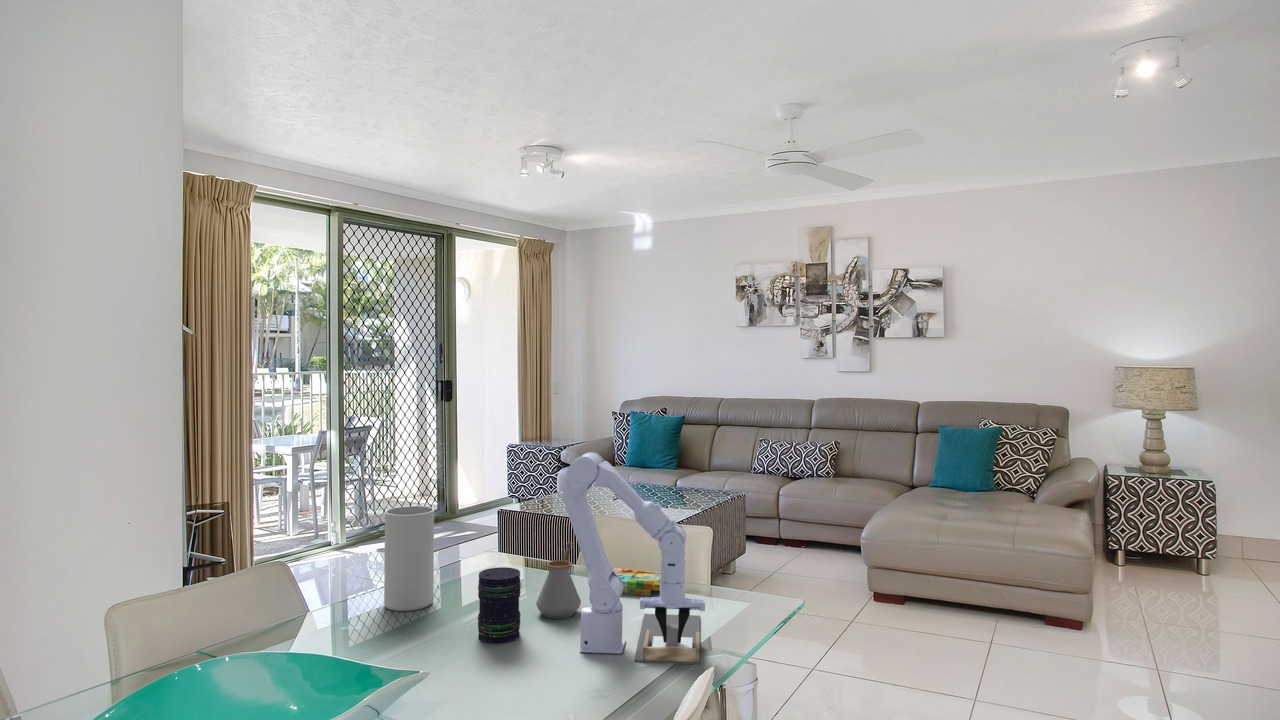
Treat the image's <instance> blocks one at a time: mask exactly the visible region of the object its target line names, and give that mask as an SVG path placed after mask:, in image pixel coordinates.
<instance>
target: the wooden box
mask: <svg viewBox="0 0 1280 720" xmlns="http://www.w3.org/2000/svg"><path fill="white" fill-rule="evenodd" d="M649 644H650V630H647V631H646V636H645V641H644V646H643V660H659V661H684V662H699V655H700V656H701V652H700V651H701V631H700V632H696V648H671V647H649Z"/></svg>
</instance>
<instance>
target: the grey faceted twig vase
mask: <svg viewBox="0 0 1280 720" xmlns="http://www.w3.org/2000/svg"><path fill="white" fill-rule="evenodd" d="M572 545H575V543H574V542H572V541H568V542H567V543H566V549H565V551H564V554H563V559H562V560H552V561H549V562H547V563H546V567H547V568H548V573H547V576H546V579H545V580H544V583H543V584H542V585H543V586H542V588H541V589H540V590H541V591H540V592H539V594H538V595H539V596H538V598H537V600H536V602H535V604H536V607H537V609H538V611H540V613H542V614H543V616H544V617H546V618H549V619H557V620H558V619H566V618H571V617H572V616H573V615H574V614H575V613H576V612H577V611H578V610H579V608H580V607H581V604H582V600H581V598H580V595H579V593H578V590H577V588H576V586H575V583H574V580H573V578H572V576H571V574H570V570H571V569H572V567H573V563H572V562H570V561H568V558H569V555H570V550H571V549H572V548H574V546H572Z"/></svg>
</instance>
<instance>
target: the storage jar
mask: <svg viewBox="0 0 1280 720" xmlns="http://www.w3.org/2000/svg"><path fill="white" fill-rule="evenodd" d="M521 584H522V583H521V571H520V570H519V569H518V568H515V567H504V566H503V567H493V568H492V567H491V568H490V567H489V568H486V569H484V570H481V571H480V572H479V573H478V584H477V585H478V586H477V590H478V593H477V597H478V599H479V613H478V615H477V629H478V636H477V638H478V641H479V642H482V643H484V644H488V645H503V644H509V643H513V642H515V641H517V640H518V639H519V638H520V637H521V636H520V635H521V632H520V629H521V611H520V597H521V593H522V591H521V586H522V585H521Z"/></svg>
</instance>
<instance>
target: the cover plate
mask: <svg viewBox="0 0 1280 720" xmlns="http://www.w3.org/2000/svg"><path fill="white" fill-rule="evenodd" d="M692 643H693V638H689V637H681V643H678V625H673V624H667V639H666V643H665V642H664V641H663V636H653V642H652V647H671V648H692Z"/></svg>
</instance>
